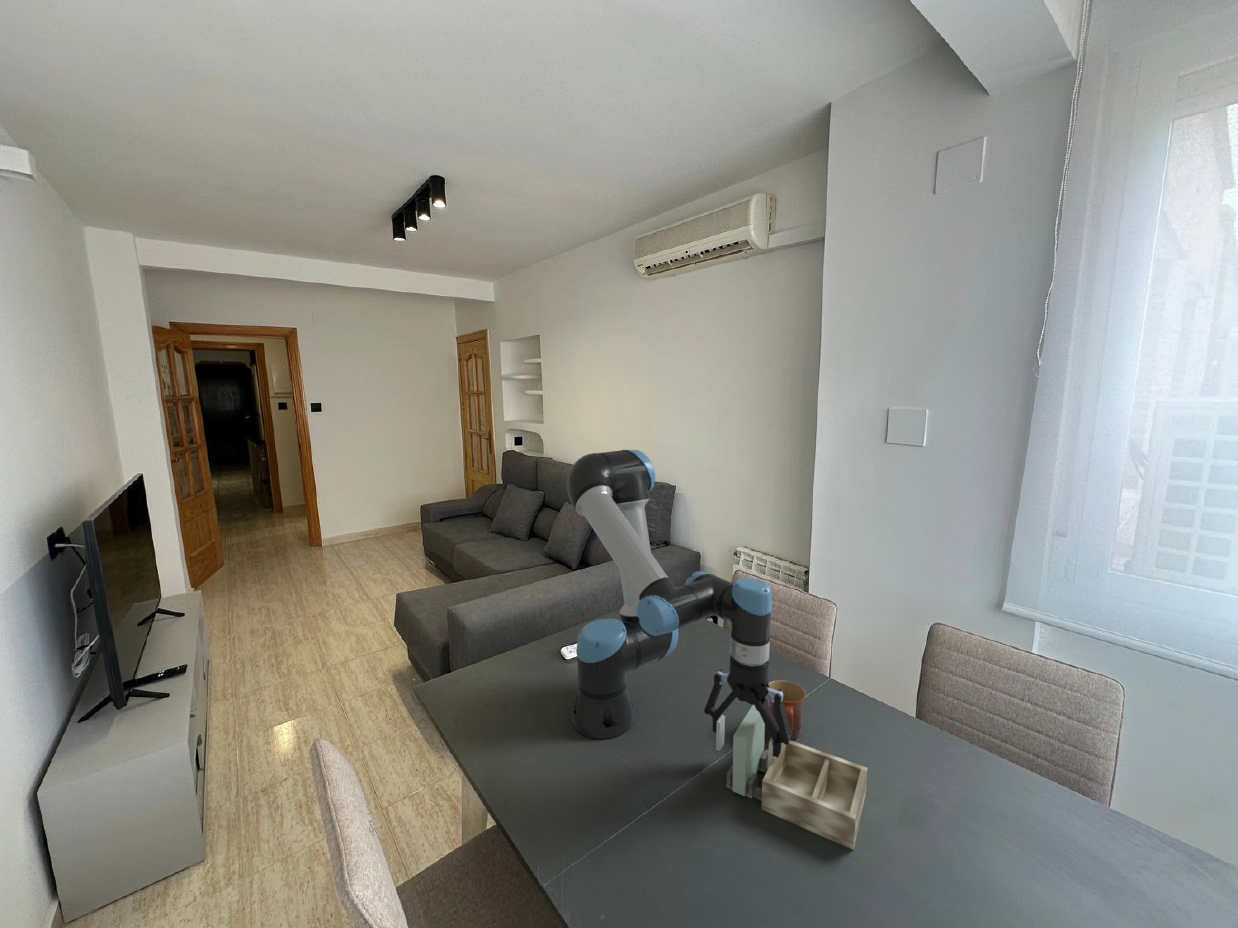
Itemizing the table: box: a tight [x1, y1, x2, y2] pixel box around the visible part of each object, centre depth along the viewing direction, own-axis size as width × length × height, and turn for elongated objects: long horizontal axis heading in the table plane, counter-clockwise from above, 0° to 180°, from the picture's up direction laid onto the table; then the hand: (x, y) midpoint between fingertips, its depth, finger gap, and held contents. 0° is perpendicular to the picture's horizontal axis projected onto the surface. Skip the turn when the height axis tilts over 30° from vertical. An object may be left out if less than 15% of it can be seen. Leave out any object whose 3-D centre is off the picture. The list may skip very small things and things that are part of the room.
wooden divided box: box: [726, 740, 868, 851], centre depth 99 cm, size 24×14×6 cm, turn 56°
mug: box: [767, 679, 807, 741], centre depth 115 cm, size 12×9×10 cm
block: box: [732, 705, 766, 797], centre depth 103 cm, size 3×12×12 cm, turn 147°
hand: (744, 757), depth 104 cm, fingers open, 10 cm apart
